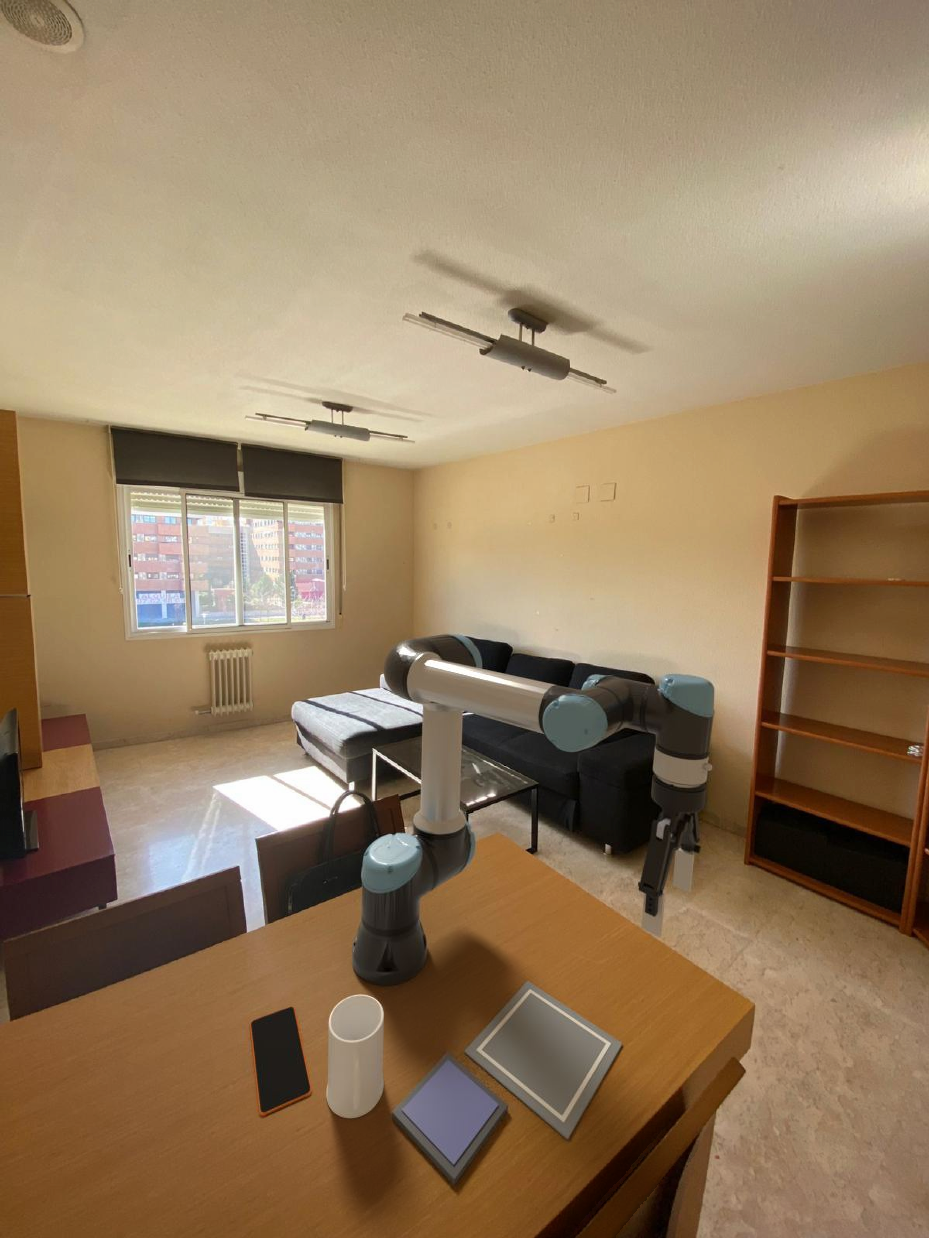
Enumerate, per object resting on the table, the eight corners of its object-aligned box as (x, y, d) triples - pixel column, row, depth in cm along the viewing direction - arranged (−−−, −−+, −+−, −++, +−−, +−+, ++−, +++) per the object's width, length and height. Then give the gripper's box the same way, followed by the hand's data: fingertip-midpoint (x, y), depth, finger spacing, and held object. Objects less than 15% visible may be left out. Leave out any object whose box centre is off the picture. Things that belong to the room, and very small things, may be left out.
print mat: (464, 1052, 83) (464, 1050, 83) (527, 982, 97) (527, 980, 97) (567, 1140, 71) (567, 1137, 71) (622, 1044, 85) (622, 1042, 85)
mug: (382, 1140, 70) (384, 1063, 68) (319, 1148, 69) (319, 1069, 67) (384, 1058, 81) (385, 990, 80) (330, 1063, 80) (330, 994, 79)
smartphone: (259, 1120, 72) (259, 1115, 72) (249, 1024, 87) (249, 1020, 87) (313, 1096, 76) (313, 1091, 75) (294, 1008, 90) (294, 1003, 90)
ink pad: (391, 1117, 73) (391, 1110, 73) (447, 1057, 82) (447, 1050, 82) (454, 1185, 65) (454, 1177, 65) (507, 1110, 74) (508, 1103, 74)
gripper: (677, 815, 64) (663, 968, 67) (727, 762, 83) (715, 882, 85) (621, 796, 69) (610, 939, 71) (680, 750, 88) (670, 864, 90)
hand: (667, 908), depth 78 cm, fingers open, 13 cm apart
